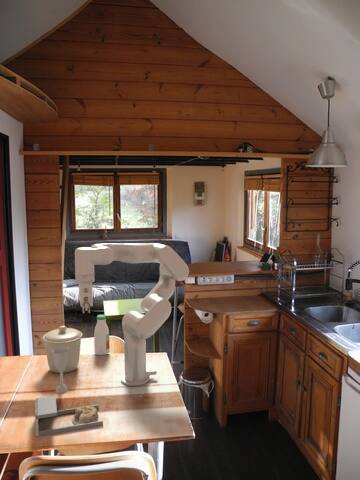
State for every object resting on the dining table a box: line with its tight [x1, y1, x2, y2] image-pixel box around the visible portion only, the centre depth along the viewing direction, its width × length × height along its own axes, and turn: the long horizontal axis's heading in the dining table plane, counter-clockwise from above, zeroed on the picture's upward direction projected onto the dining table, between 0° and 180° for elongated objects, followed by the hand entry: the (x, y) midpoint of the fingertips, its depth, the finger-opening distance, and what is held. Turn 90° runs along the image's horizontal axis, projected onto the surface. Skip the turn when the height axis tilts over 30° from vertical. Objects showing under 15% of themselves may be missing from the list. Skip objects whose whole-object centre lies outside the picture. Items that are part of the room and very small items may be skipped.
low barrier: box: [34, 395, 104, 437], centre depth 161 cm, size 23×13×8 cm, turn 108°
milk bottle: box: [93, 314, 111, 356], centre depth 225 cm, size 8×8×20 cm
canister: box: [42, 325, 83, 374], centre depth 206 cm, size 18×18×21 cm
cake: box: [71, 405, 99, 425], centre depth 163 cm, size 10×10×5 cm
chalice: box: [52, 347, 69, 394], centre depth 184 cm, size 7×7×18 cm
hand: (85, 318), depth 178 cm, fingers open, 9 cm apart
